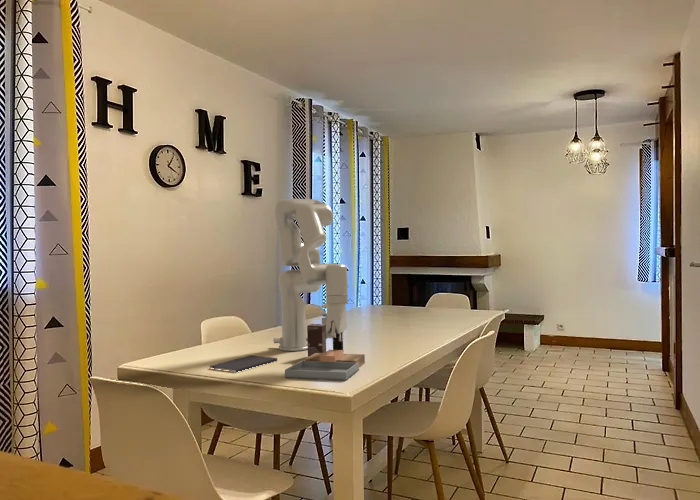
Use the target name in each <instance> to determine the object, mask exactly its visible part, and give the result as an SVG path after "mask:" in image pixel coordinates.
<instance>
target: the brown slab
mask: <svg viewBox="0 0 700 500" xmlns="http://www.w3.org/2000/svg"><path fill="white" fill-rule="evenodd" d="M322 354H323V353H314V354H313V355H311V356H309V357H308V356H307V357H305V358H304V361H320V355H322ZM365 357H366V355H365V354H360V353H344V356H343V357H341V358H340V359H338V360H337V361H336V362H355V363H359V368H360V367H362V366H363V365H365V364H366V360H365Z"/></svg>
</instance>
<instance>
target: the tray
mask: <svg viewBox="0 0 700 500" xmlns="http://www.w3.org/2000/svg"><path fill="white" fill-rule="evenodd" d="M359 371H360V367H359V363H355V362H320V361H305V360H300V361H297V362H296V363H295V364H293V365H290V366H289V367H288V368H285V369H284V378H285V379H298V380H299V379H301V380H303V379H305V380H321V381H322V380H325V381H326V380H327V381H341V382H342V381H344V382H345V381H348V380H349V379H350V378H352V377H353V376H354V375H355V374H356V373H357V372H359Z"/></svg>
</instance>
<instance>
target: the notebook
mask: <svg viewBox="0 0 700 500" xmlns="http://www.w3.org/2000/svg"><path fill="white" fill-rule="evenodd" d="M274 361H275V362H277V361H278V357H270V356H269V357H268V356H261V355H253V354H251V355H250V354H249V355H246V356H243V357H239V358H238V357H237V358H234V359H231V360H227V361H224V362H223V361H222V362H219V363H215V364H212V365H209V367H210V368H214V369H221V370H229V371H235V372H238V371H241V372H243V371H242V370H245V369H248V370H250V369H249V368H251V369H253V368H252V367H255V368H257V367H256V366H258V367H260V366H259V365H262V366H264V365H263V364H265V365H268V364H272V363H275V362H274ZM271 362H272V363H271ZM267 363H268V364H267ZM210 368H209V369H210ZM245 371H246V370H245ZM235 372H234V373H235ZM238 373H239V372H238Z"/></svg>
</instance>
